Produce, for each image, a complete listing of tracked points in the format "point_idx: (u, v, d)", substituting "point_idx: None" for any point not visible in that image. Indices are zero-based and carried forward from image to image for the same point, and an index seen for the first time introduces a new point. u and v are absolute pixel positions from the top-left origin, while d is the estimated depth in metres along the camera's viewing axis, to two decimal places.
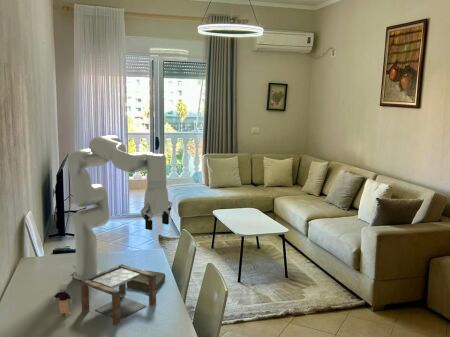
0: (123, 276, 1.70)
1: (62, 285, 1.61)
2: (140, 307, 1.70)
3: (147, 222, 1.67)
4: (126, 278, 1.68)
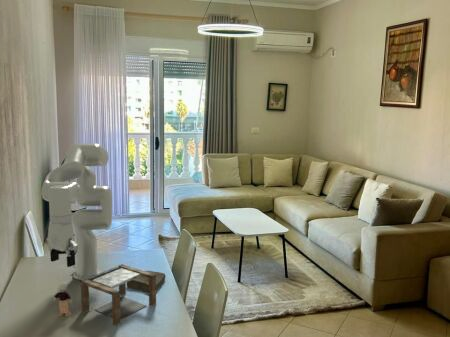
0: (123, 276, 1.70)
1: (62, 285, 1.61)
2: (140, 307, 1.70)
3: (73, 258, 1.58)
4: (126, 278, 1.68)
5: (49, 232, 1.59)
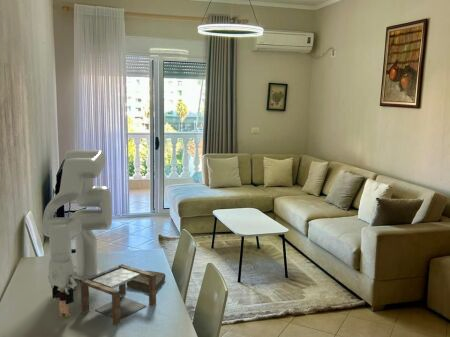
0: (123, 276, 1.70)
1: None
2: (140, 307, 1.70)
3: (71, 295, 1.60)
4: (126, 278, 1.68)
5: (49, 268, 1.61)
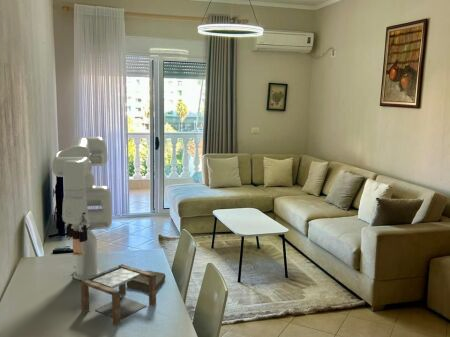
0: (123, 276, 1.70)
1: None
2: (140, 307, 1.70)
3: (85, 233, 1.59)
4: (126, 278, 1.68)
5: (63, 206, 1.60)
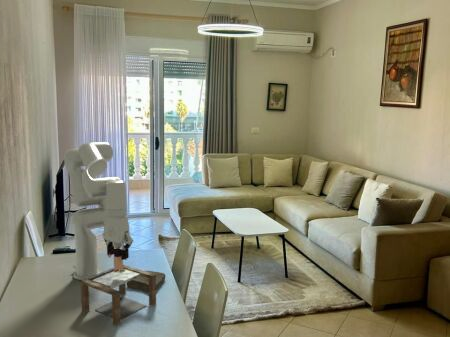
0: (123, 276, 1.70)
1: None
2: (140, 307, 1.70)
3: (127, 251, 1.64)
4: (126, 278, 1.68)
5: (105, 225, 1.65)
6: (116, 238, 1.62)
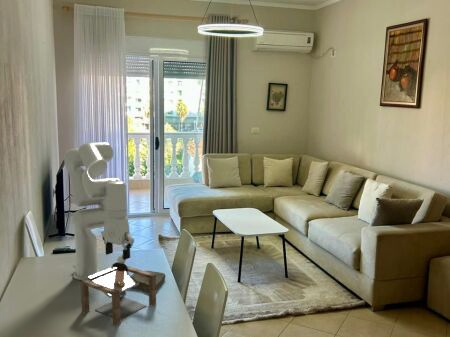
0: None
1: (122, 257, 1.64)
2: (140, 307, 1.70)
3: (128, 251, 1.64)
4: (125, 286, 1.68)
5: (105, 226, 1.65)
6: (116, 239, 1.62)
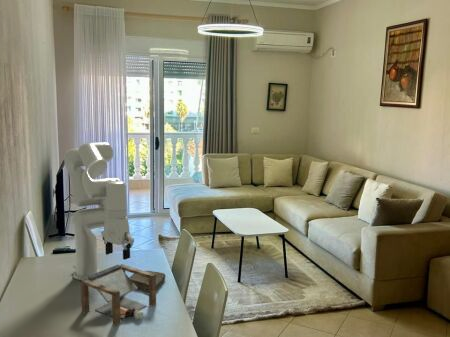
0: (122, 286, 1.71)
1: (141, 316, 1.61)
2: (140, 307, 1.70)
3: (128, 251, 1.64)
4: (124, 291, 1.69)
5: (105, 226, 1.65)
6: (116, 239, 1.62)
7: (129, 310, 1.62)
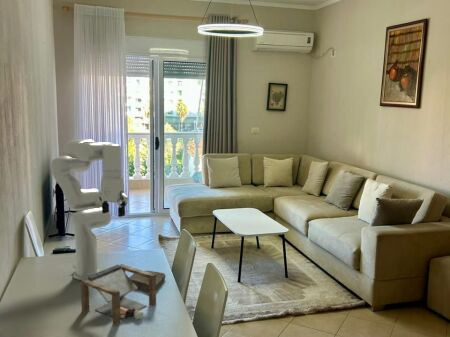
0: (122, 286, 1.71)
1: None
2: (140, 307, 1.70)
3: (123, 209, 1.76)
4: (124, 291, 1.69)
5: (102, 186, 1.77)
6: (112, 197, 1.74)
7: (129, 310, 1.62)
